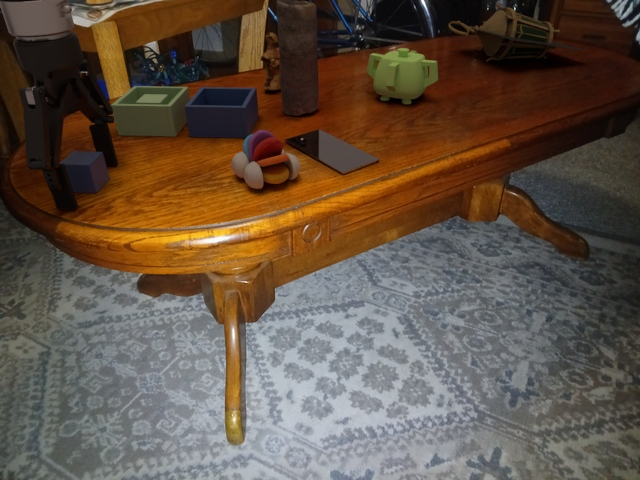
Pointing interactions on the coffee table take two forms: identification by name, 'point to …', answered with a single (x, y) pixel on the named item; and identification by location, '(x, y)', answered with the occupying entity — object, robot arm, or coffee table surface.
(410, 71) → the green lidded pot
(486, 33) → the lantern
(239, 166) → the rainbow puzzle ball
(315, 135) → the smartphone
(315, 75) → the candle
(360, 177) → the coffee table surface
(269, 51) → the figurine
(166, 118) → the green bin
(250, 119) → the blue bin
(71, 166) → the blue block
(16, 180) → the coffee table surface
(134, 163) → the coffee table surface
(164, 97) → the green block
